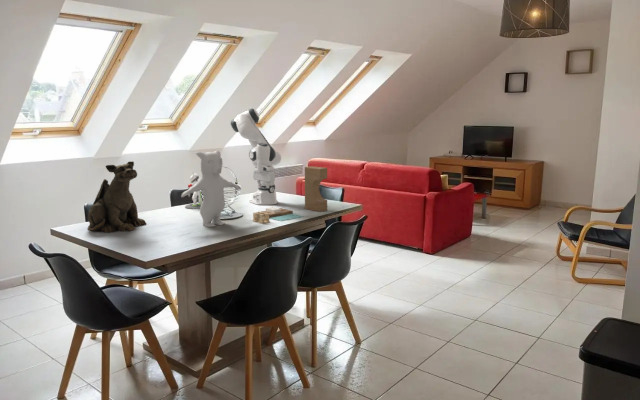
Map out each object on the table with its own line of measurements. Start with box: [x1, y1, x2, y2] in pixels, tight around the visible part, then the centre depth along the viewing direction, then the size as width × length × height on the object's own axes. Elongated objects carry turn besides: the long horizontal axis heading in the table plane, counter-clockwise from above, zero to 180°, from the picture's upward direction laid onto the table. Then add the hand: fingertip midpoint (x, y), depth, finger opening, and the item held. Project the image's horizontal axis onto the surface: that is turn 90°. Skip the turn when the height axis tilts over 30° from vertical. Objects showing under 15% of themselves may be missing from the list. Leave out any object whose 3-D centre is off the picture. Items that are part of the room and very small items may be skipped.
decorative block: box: [304, 165, 328, 213], centre depth 358 cm, size 15×8×30 cm, turn 48°
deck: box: [255, 208, 294, 218], centre depth 343 cm, size 13×22×2 cm, turn 133°
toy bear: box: [180, 150, 242, 228], centre depth 309 cm, size 42×17×45 cm, turn 135°
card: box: [265, 206, 281, 213], centre depth 344 cm, size 9×6×2 cm, turn 43°
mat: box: [269, 213, 305, 222], centre depth 334 cm, size 12×20×1 cm, turn 133°
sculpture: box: [87, 161, 147, 233], centre depth 301 cm, size 31×36×40 cm
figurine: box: [184, 172, 203, 210], centre depth 368 cm, size 17×17×25 cm
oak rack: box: [252, 211, 271, 225], centre depth 321 cm, size 10×6×6 cm, turn 43°
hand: (263, 187), depth 348 cm, fingers open, 7 cm apart
